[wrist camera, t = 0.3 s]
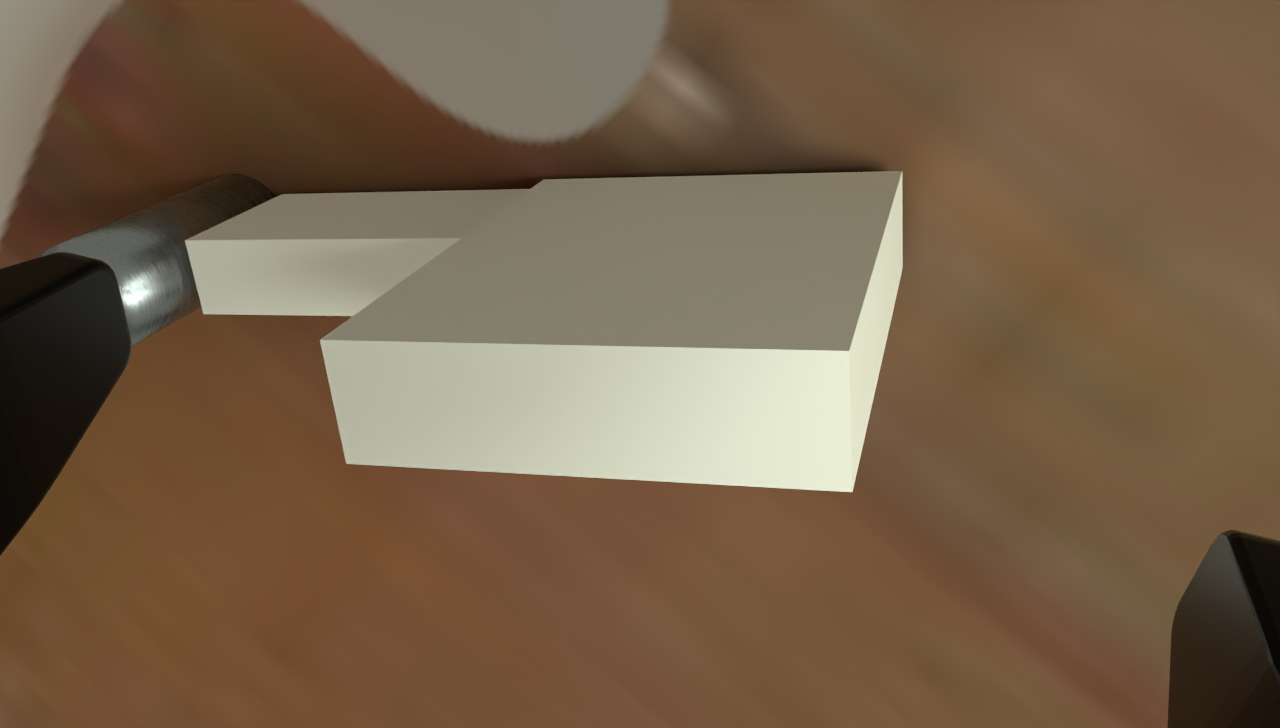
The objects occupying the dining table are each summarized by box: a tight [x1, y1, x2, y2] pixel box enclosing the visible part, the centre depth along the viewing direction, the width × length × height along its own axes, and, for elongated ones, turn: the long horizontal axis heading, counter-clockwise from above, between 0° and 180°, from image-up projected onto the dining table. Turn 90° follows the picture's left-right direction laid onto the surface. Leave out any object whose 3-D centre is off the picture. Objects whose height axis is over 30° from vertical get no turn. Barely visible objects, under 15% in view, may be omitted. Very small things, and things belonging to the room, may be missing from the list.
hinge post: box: [40, 174, 275, 346], centre depth 25 cm, size 2×2×6 cm
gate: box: [185, 171, 903, 492], centre depth 21 cm, size 14×2×9 cm, turn 96°
